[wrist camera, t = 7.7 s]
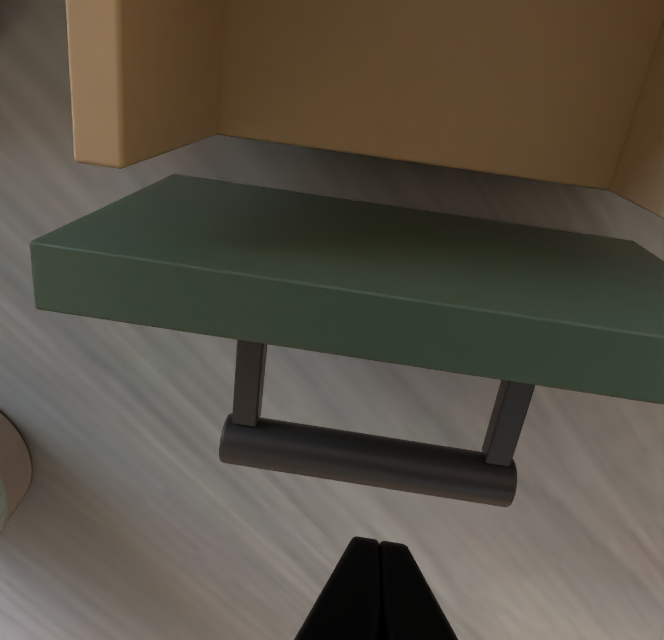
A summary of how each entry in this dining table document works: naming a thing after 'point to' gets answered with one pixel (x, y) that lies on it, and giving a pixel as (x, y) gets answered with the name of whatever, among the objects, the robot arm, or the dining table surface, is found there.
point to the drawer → (374, 205)
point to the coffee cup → (12, 470)
